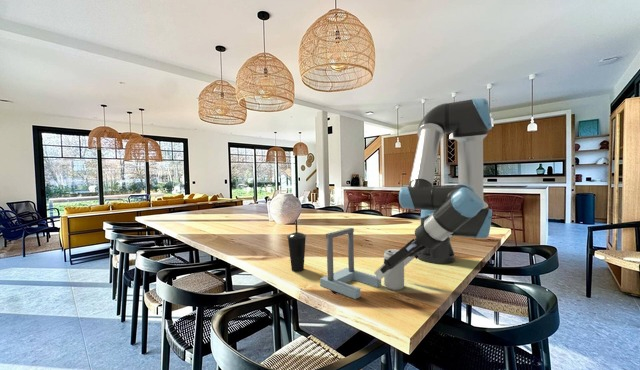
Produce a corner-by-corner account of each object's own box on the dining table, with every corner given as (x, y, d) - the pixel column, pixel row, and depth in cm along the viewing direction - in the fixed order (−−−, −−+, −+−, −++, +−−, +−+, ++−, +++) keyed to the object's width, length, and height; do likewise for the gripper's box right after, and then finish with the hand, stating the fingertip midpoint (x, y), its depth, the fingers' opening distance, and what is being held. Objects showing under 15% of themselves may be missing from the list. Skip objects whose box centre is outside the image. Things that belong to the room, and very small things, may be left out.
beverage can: (381, 283, 93) (381, 248, 92) (400, 282, 93) (399, 247, 93) (388, 291, 87) (387, 254, 86) (407, 290, 87) (407, 253, 87)
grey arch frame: (381, 285, 92) (380, 231, 91) (355, 299, 82) (354, 239, 81) (346, 274, 102) (345, 226, 102) (320, 285, 93) (318, 233, 92)
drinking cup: (310, 267, 111) (309, 218, 110) (301, 274, 104) (299, 221, 103) (294, 265, 114) (292, 217, 113) (284, 271, 107) (282, 220, 107)
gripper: (423, 251, 69) (374, 292, 80) (457, 234, 87) (413, 270, 98) (403, 228, 73) (359, 270, 84) (440, 216, 90) (400, 252, 102)
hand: (388, 270), depth 91 cm, fingers open, 13 cm apart
